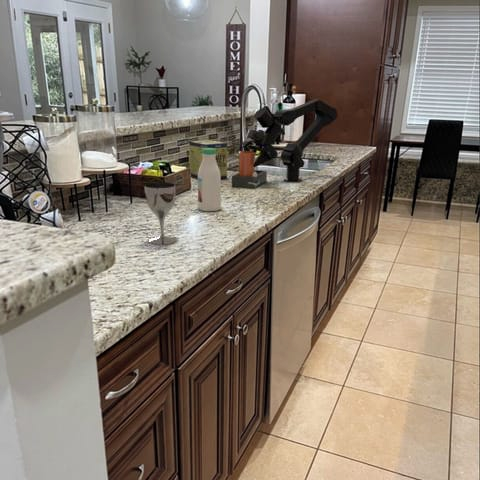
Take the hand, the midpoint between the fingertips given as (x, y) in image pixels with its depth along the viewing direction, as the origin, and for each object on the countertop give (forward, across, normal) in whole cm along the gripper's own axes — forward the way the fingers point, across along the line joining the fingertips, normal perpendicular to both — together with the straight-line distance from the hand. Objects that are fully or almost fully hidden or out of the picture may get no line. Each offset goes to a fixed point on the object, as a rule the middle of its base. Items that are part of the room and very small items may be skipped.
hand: (247, 165), depth 208 cm
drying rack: (+4, -2, +8) cm, 9 cm away
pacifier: (+4, +3, +4) cm, 6 cm away
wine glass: (+52, +54, -40) cm, 85 cm away
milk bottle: (+31, +28, -19) cm, 46 cm away
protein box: (+9, -25, +3) cm, 27 cm away
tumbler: (+6, 0, +5) cm, 8 cm away
